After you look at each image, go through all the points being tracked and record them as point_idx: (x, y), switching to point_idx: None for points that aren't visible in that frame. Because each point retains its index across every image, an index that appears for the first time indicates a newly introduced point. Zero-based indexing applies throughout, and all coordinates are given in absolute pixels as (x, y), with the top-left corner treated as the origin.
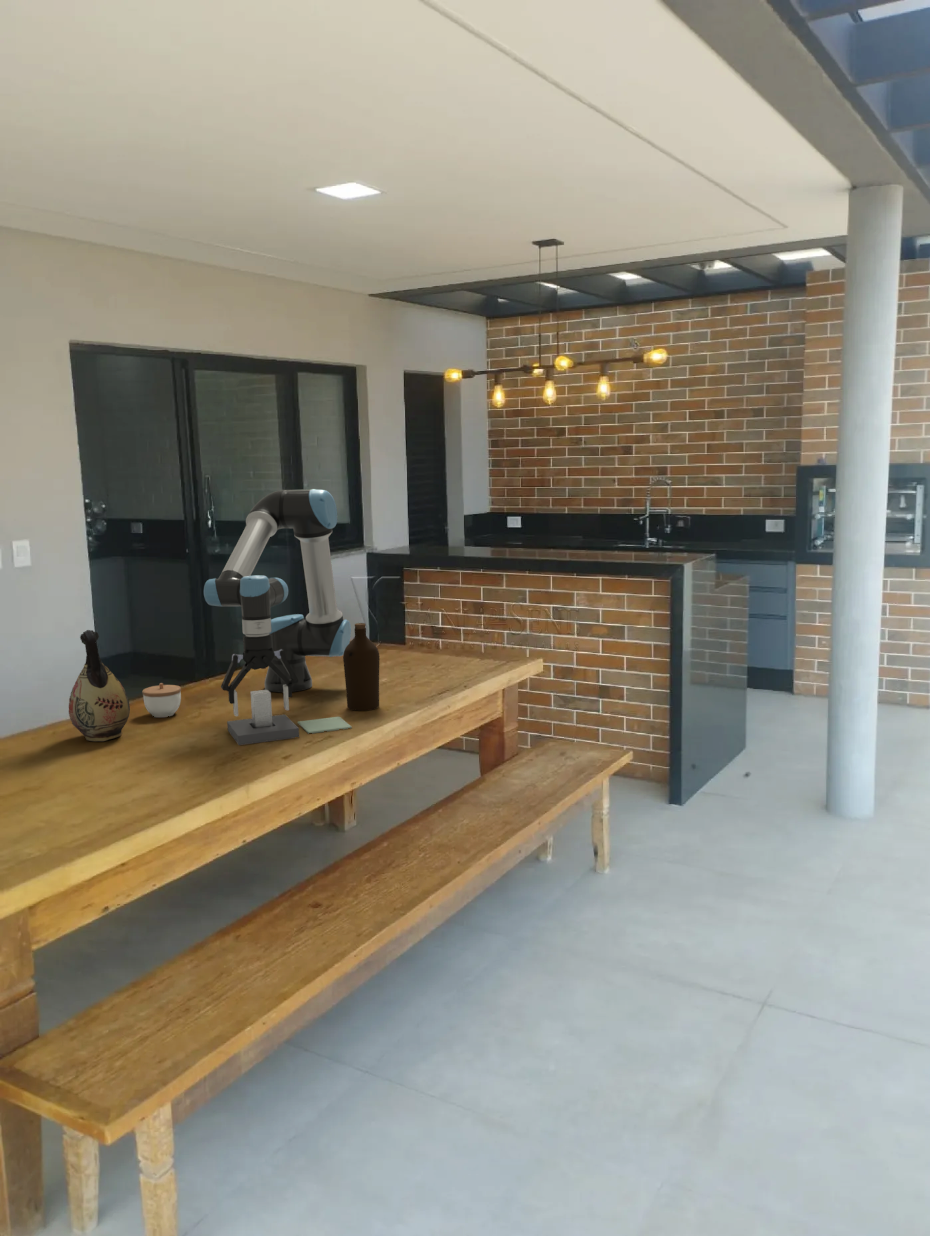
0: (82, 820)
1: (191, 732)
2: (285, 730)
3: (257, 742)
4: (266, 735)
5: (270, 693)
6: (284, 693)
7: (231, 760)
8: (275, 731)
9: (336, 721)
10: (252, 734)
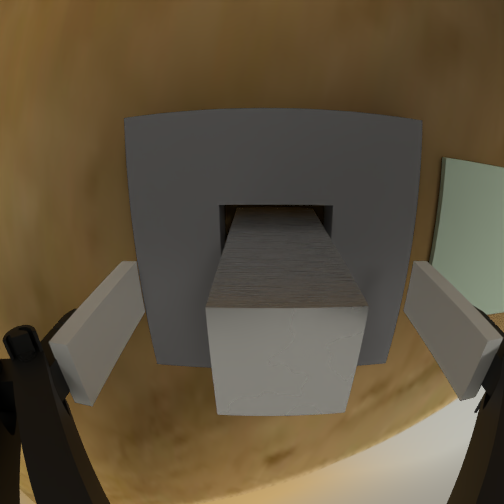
0: (24, 472)
1: (27, 105)
2: None
3: None
4: None
5: (342, 409)
6: (449, 339)
7: (150, 432)
8: None
9: None
10: (209, 366)
